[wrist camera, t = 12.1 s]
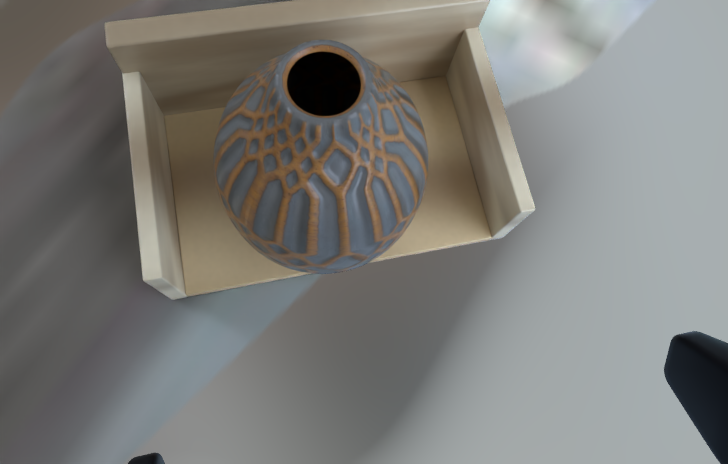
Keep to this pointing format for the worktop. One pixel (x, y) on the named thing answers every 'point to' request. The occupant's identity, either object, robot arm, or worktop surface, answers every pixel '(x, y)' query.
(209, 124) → the shoe shelf
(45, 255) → the worktop surface
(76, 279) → the worktop surface
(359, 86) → the vase
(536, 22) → the worktop surface
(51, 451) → the worktop surface
